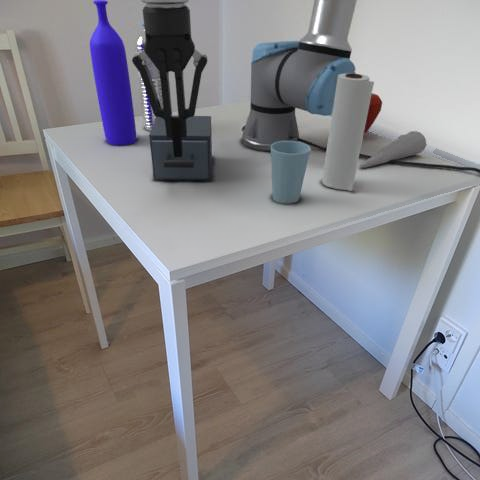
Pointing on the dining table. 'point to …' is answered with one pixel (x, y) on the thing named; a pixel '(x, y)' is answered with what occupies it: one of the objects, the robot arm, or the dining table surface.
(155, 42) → the robot arm
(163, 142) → the drawer
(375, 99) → the apple
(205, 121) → the cabinet
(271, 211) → the dining table surface
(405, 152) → the long tapered cone
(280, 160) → the cup
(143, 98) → the water bottle
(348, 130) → the paper towel roll
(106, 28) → the bottle
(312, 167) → the dining table surface
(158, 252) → the dining table surface
